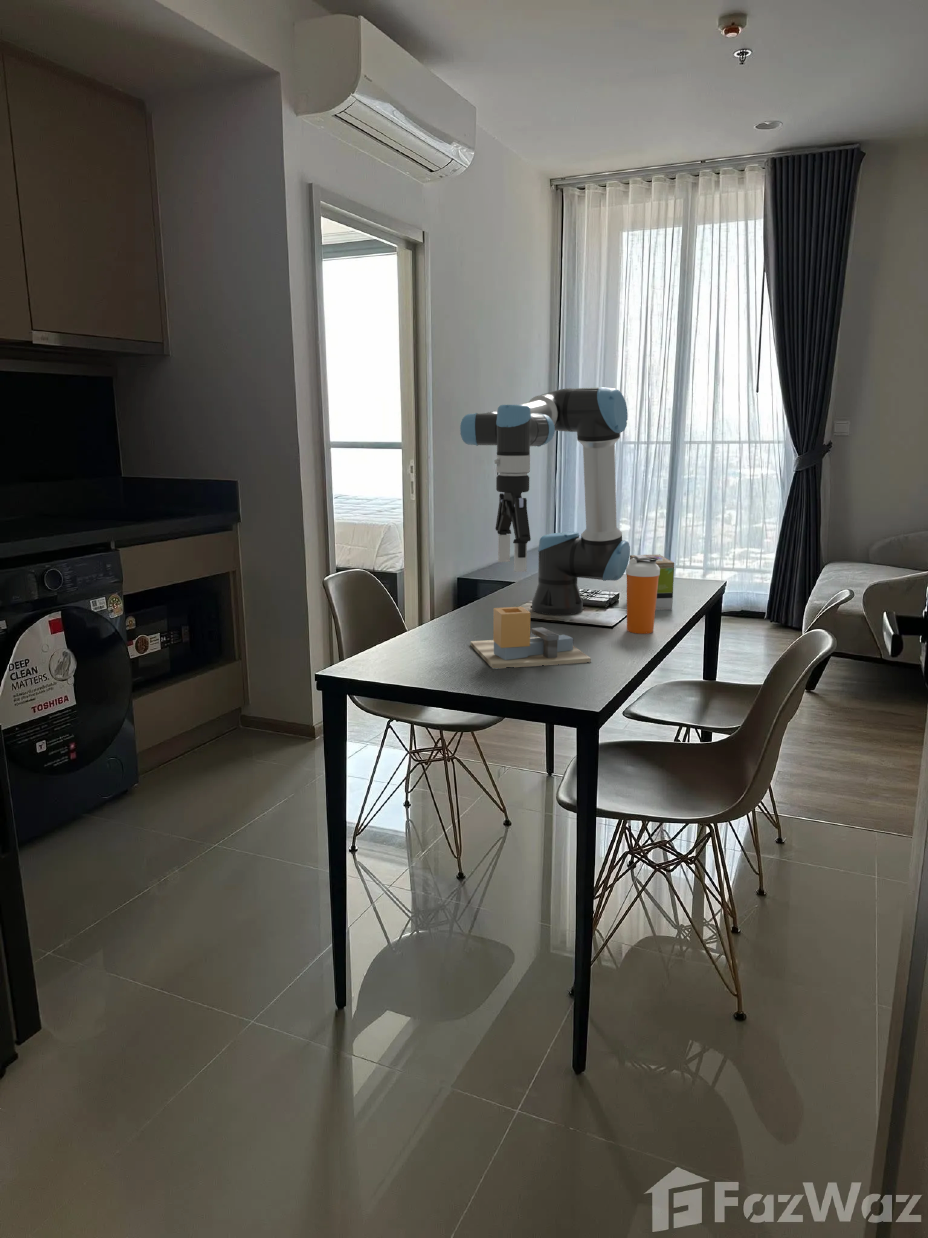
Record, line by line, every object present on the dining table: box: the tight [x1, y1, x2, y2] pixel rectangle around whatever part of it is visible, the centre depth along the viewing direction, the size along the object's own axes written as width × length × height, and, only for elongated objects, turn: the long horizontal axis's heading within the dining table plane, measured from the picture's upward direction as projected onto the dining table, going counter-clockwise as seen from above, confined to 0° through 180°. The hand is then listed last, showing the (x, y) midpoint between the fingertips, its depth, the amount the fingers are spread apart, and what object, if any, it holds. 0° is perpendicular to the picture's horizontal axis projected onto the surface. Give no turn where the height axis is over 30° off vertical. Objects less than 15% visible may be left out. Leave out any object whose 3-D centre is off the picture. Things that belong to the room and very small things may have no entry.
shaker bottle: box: [625, 556, 660, 635], centre depth 235 cm, size 9×9×20 cm
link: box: [494, 634, 574, 660], centre depth 211 cm, size 19×6×3 cm, turn 115°
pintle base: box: [469, 626, 592, 669], centre depth 214 cm, size 22×24×10 cm
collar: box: [492, 606, 532, 648], centre depth 207 cm, size 7×7×8 cm
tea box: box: [629, 554, 675, 611], centre depth 267 cm, size 15×10×15 cm, turn 5°
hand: (511, 566), depth 203 cm, fingers open, 13 cm apart
